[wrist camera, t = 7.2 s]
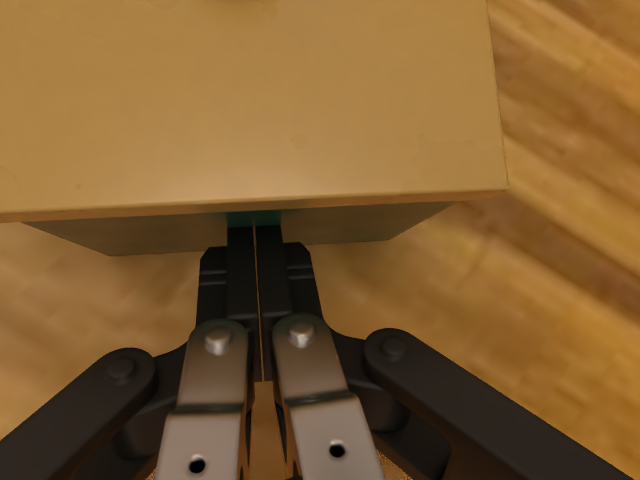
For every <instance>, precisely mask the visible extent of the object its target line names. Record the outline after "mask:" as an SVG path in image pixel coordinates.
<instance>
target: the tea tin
mask: <svg viewBox="0 0 640 480" xmlns="http://www.w3.org/2000/svg"><path fill="white" fill-rule="evenodd" d="M508 187H509V182H508V174H507V166H506V157H505V149H504V141H503V133H502V124H501V116H500V108H499V99H498V91H497V83H496V75H495V66H494V58H493V50H492V42H491V33H490V25H489V17H488V9H487V0H0V223H9V222H21V223H24V224H26V225H29V226H32V227H34V228H37V229H40V230H42V231H45V232H48V233H50V234H53V235H55V236H58V237H61V238H63V239H66V240H69V241H71V242H74V243H76V244H79V245H82V246H84V247H87V248H90V249H92V250H95V251H97V252H100V253H103V254H105V255H108V256H122V255H139V254H157V253H174V252H191V251H206V250H207V249H208V248H209V247H218V246H227V228H240V227H253V235H254V248H256V235H255V227H258V226H278V225H281V230H282V238H283V243H288V242H301V243H302V244H303V245H312V244H330V243H347V242H364V241H382V240H389V239H391V238H393V237H395V236H397V235H398V234H400V233H402V232H404V231H406V230H407V229H409V228H411V227H413V226H415V225H416V224H418V223H420V222H422V221H424V220H425V219H427V218H429V217H431V216H433V215H435V214H436V213H438V212H440V211H442V210H444V209H445V208H447V207H449V206H451V205H453V204H454V203H456V202H458V201H460V200H479V199H489V198H491V197H493V196H495V195H497V194H499V193H501V192H503V191H505V190H507V189H508Z"/></svg>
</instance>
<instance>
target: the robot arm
mask: <svg viewBox="0 0 640 480" xmlns="http://www.w3.org/2000/svg"><path fill="white" fill-rule="evenodd" d="M255 235H256V256H257V276H258V293H259V307H260V322H261V337H262V352H263V367H264V381H273V392H274V411H275V416H276V422H277V428H278V434H279V440H280V445H281V451H282V457H283V463H284V469H285V475H286V480H386V478H385V475H384V472H383V469H382V466H381V463H380V460H379V457H378V454H377V451H376V449H378V450H379V451H380V452H381V453H382V454H384V455H385V456H386V457H387V458H388V459H390V460H391V461H392V462H393V463H394V464H396V465H397V466H398V467H399V468H400V469H402V470H403V471H404V472H405V473H406V474H408V475H409V476H410V477H411V478H412V479H414V480H634V479H633V478H631V477H629V476H628V475H626V474H625V473H623V472H622V471H620V470H619V469H617V468H616V467H614V466H613V465H611V464H609V463H608V462H606V461H605V460H603V459H602V458H600V457H599V456H597V455H596V454H594V453H593V452H591V451H590V450H588V449H586V448H585V447H583V446H582V445H580V444H579V443H577V442H576V441H574V440H573V439H571V438H570V437H568V436H566V435H565V434H563V433H562V432H560V431H559V430H557V429H556V428H554V427H553V426H551V425H550V424H548V423H546V422H545V421H543V420H542V419H540V418H539V417H537V416H536V415H534V414H533V413H531V412H530V411H528V410H527V409H525V408H523V407H522V406H520V405H519V404H517V403H516V402H514V401H513V400H511V399H510V398H508V397H507V396H505V395H503V394H502V393H500V392H499V391H497V390H496V389H494V388H493V387H491V386H490V385H488V384H487V383H485V382H484V381H482V380H480V379H479V378H477V377H476V376H474V375H473V374H471V373H470V372H468V371H467V370H465V369H464V368H462V367H460V366H459V365H457V364H456V363H454V362H453V361H451V360H450V359H448V358H447V357H445V356H444V355H442V354H440V353H439V352H437V351H436V350H434V349H433V348H431V347H430V346H428V345H427V344H425V343H424V342H422V341H421V340H419V339H417V338H416V337H414V336H413V335H411V334H410V333H408V332H406V331H403V330H400V329H395V328H384V329H380V330H377V331H374V332H373V333H371V334H370V335H369V336H368V337H367V338H366V340H363V339H357V338H352V337H347V336H344V335H341V334H339V333H337V332H335V331H334V330H333V329H331V328H330V327H329V326H328V325H327V324H326V322H325V320H324V319H323V315H322V311H321V306H320V301H319V296H318V291H317V286H316V281H315V277H314V271H313V267H312V261H311V256H310V252H309V251H308V250H307V249H306V248H305V247H304V246H303V244H302V243H301V242H288V243H283V238H282V230H281V225H278V226H258V227H255ZM199 273H200V275H199V286H198V301H197V315H196V327H195V329H194V330H193V331H192V332H191V334H190V336H189V339H188V341H187V342H186V343H184V344H183V345H182V346H180V347H179V348H177V349H175V350H173V351H170V352H168V353H165V354H162V355H159V356H156V357H153V358H152V356H151V355H150V354H149V353H148V352H146V351H144V350H142V349H138V348H122V349H118V350H114V351H112V352H109V353H108V354H106V355H104V356H103V357H101V358H100V359H99V360H97V361H96V362H95V363H94V364H93V365H91V366H90V367H89V368H88V369H87V370H85V371H84V372H83V373H82V374H81V375H79V376H78V377H77V378H76V379H74V380H73V381H72V382H71V383H70V384H68V385H67V386H66V387H65V388H64V389H62V390H61V391H60V392H59V393H58V394H56V395H55V396H54V397H53V398H51V399H50V400H49V401H48V402H47V403H45V404H44V405H43V406H42V407H41V408H39V409H38V410H37V411H36V412H35V413H33V414H32V415H31V416H30V417H28V418H27V419H26V420H25V421H24V422H22V423H21V424H20V425H19V426H18V427H16V428H15V429H14V430H13V431H12V432H10V433H9V434H8V435H7V436H5V437H4V438H3V439H2V440H1V441H0V480H145V479H146V478H147V477H148V476H149V475H150V474H151V473H152V472H153V470H154V469H155V468H156V472H155V477H154V480H250V469H251V447H252V425H253V404H254V400H255V388H254V382H262V373H261V353H260V333H259V313H258V297H257V282H256V266H255V251H254V235H253V227H240V228H227V246H218V247H209V248H208V249H207V250H206V252H205V253H204V255H203V256H202V258H201V259H200V272H199Z"/></svg>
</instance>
